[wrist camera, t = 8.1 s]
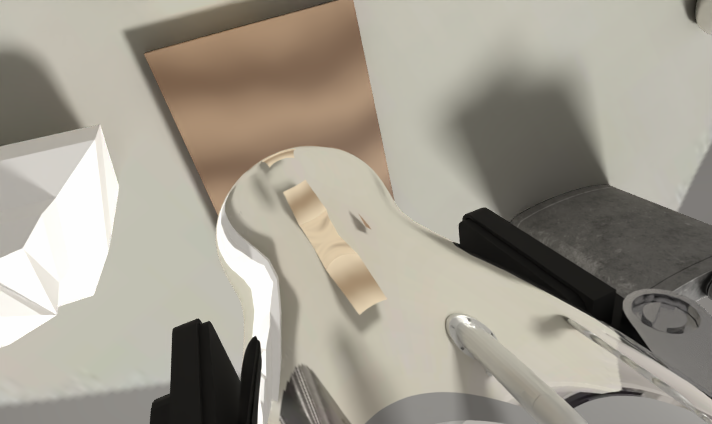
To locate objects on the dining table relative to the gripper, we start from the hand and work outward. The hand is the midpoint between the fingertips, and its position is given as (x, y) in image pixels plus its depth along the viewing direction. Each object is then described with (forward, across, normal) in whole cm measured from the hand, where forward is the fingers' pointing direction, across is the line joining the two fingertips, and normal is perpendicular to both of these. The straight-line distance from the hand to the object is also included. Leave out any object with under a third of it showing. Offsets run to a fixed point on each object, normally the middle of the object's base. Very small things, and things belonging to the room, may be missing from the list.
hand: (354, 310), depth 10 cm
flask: (+24, -30, +19) cm, 43 cm away
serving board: (+24, -3, +3) cm, 24 cm away
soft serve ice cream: (+24, +16, +3) cm, 29 cm away
